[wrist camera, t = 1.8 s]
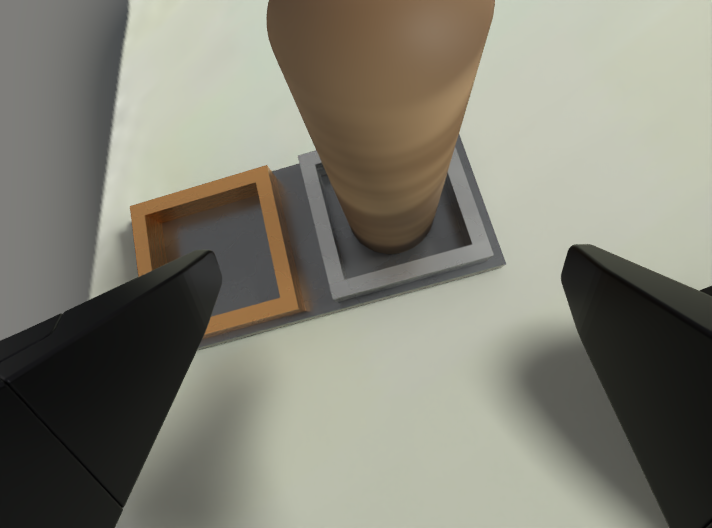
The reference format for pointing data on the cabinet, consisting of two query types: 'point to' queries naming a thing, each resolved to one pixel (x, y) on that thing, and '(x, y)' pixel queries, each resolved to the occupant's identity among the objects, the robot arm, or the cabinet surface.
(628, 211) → the cabinet surface
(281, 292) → the tray
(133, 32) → the cabinet surface
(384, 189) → the post
